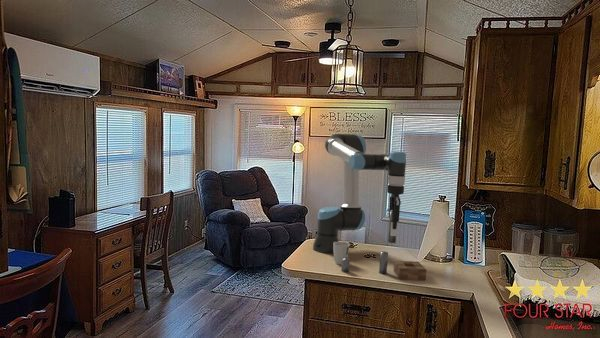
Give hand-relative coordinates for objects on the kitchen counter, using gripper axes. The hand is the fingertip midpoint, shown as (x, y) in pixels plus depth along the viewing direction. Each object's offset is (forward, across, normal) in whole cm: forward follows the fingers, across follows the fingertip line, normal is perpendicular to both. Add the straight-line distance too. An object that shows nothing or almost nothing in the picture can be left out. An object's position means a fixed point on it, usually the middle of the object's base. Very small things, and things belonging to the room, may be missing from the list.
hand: (392, 234), depth 203 cm
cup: (+19, -13, -22) cm, 32 cm away
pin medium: (+19, -2, -3) cm, 20 cm away
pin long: (+4, 0, 0) cm, 4 cm away
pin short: (+19, -1, -21) cm, 28 cm away
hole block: (+19, 0, +9) cm, 21 cm away
